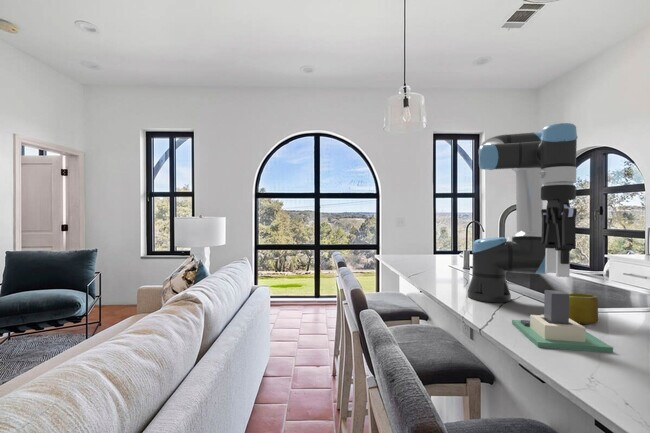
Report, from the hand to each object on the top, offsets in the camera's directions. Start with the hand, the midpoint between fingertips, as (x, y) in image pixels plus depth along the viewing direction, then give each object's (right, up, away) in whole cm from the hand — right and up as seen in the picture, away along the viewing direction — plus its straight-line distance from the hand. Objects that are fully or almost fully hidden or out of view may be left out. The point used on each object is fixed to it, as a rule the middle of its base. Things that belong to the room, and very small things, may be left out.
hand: (556, 274), depth 88 cm
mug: (+17, -17, +17) cm, 30 cm away
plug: (0, -16, 0) cm, 16 cm away
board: (+1, -17, +2) cm, 17 cm away
